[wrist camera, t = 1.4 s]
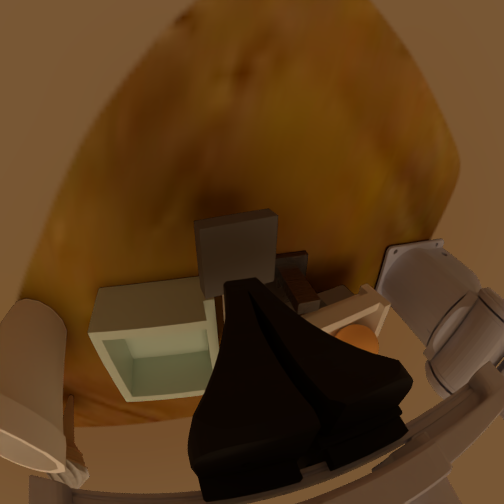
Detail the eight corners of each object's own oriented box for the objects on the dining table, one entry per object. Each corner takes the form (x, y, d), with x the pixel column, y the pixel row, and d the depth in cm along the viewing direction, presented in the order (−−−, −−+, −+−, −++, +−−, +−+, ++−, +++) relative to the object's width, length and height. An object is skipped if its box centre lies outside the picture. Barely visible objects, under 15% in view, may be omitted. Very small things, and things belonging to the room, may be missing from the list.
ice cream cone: (80, 410, 27) (78, 511, 15) (44, 391, 24) (33, 497, 12) (99, 397, 27) (101, 512, 14) (60, 376, 24) (49, 498, 11)
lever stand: (305, 250, 23) (337, 290, 19) (292, 342, 29) (311, 382, 24) (258, 256, 22) (282, 301, 18) (255, 349, 28) (271, 392, 23)
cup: (208, 274, 22) (219, 318, 18) (216, 349, 26) (226, 391, 22) (98, 288, 20) (87, 332, 16) (127, 359, 24) (126, 401, 20)
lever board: (369, 184, 20) (420, 208, 16) (336, 330, 28) (366, 362, 24) (184, 207, 15) (212, 250, 11) (207, 377, 23) (229, 423, 19)
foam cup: (93, 358, 23) (85, 479, 13) (23, 356, 21) (0, 460, 10) (62, 281, 19) (16, 426, 8) (-14, 285, 16) (-70, 398, 6)
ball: (367, 309, 22) (394, 341, 19) (356, 341, 24) (378, 371, 21) (327, 321, 21) (353, 357, 18) (318, 353, 23) (339, 388, 20)
